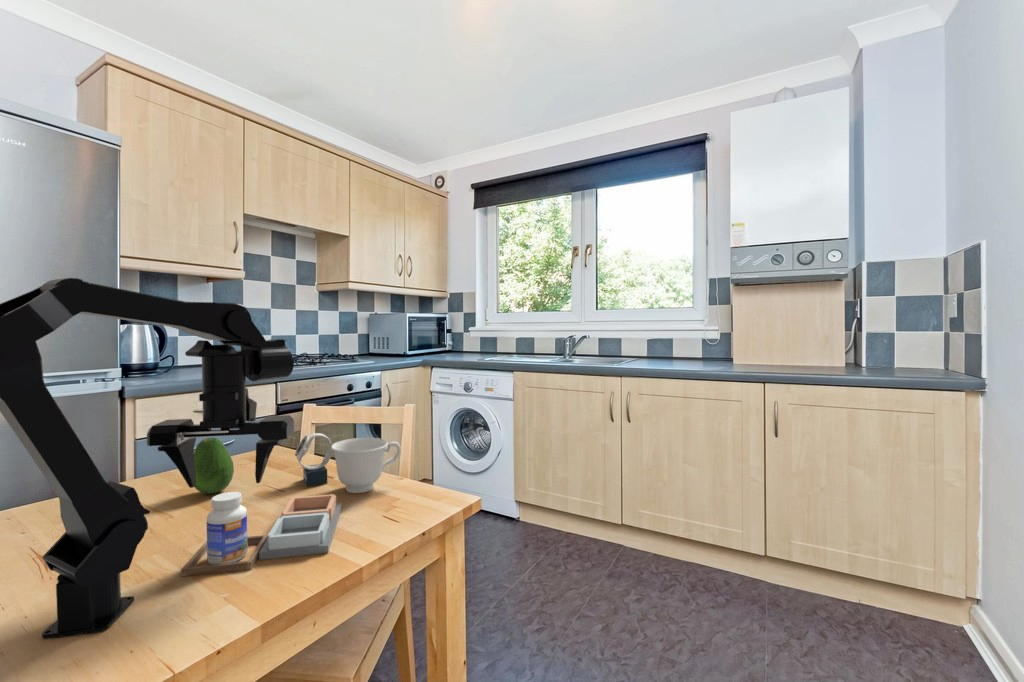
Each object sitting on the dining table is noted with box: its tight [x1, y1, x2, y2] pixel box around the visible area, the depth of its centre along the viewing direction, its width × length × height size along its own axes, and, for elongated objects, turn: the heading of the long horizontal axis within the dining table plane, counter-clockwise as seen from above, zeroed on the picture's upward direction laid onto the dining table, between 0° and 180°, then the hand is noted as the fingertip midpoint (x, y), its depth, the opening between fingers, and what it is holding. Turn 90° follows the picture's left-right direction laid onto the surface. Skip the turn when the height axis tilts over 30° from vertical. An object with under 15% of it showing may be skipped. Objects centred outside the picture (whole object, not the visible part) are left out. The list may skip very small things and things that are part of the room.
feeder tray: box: [180, 534, 268, 577], centre depth 73 cm, size 9×9×1 cm
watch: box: [294, 432, 334, 488], centre depth 107 cm, size 6×8×11 cm
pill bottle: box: [206, 491, 249, 565], centre depth 73 cm, size 5×5×10 cm
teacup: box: [331, 437, 402, 494], centre depth 103 cm, size 12×15×10 cm
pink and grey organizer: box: [258, 493, 343, 561], centre depth 82 cm, size 18×10×3 cm, turn 14°
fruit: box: [193, 436, 235, 495], centre depth 100 cm, size 8×8×12 cm
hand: (226, 484), depth 72 cm, fingers open, 9 cm apart
